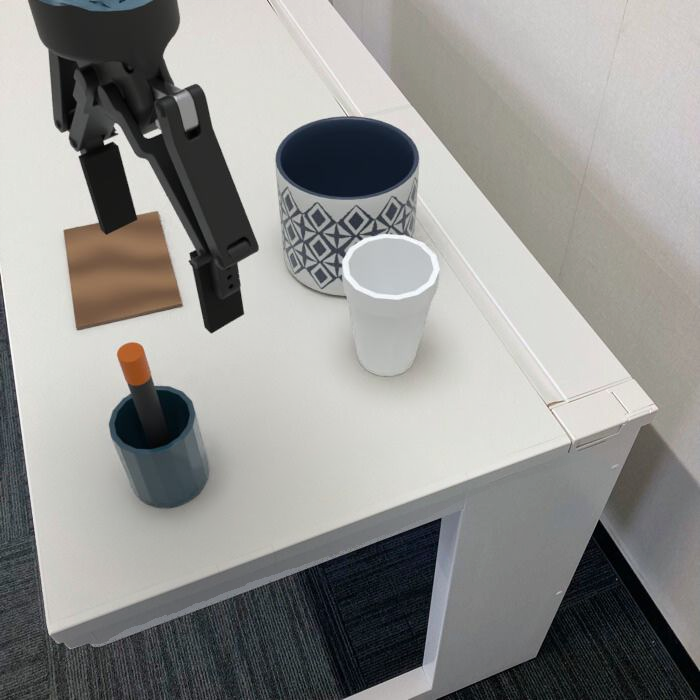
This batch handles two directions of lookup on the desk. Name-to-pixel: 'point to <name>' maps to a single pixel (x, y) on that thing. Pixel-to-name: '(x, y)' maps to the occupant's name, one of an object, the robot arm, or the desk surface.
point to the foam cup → (389, 299)
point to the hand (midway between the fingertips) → (168, 270)
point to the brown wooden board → (120, 271)
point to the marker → (144, 393)
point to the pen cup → (162, 451)
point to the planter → (342, 193)
